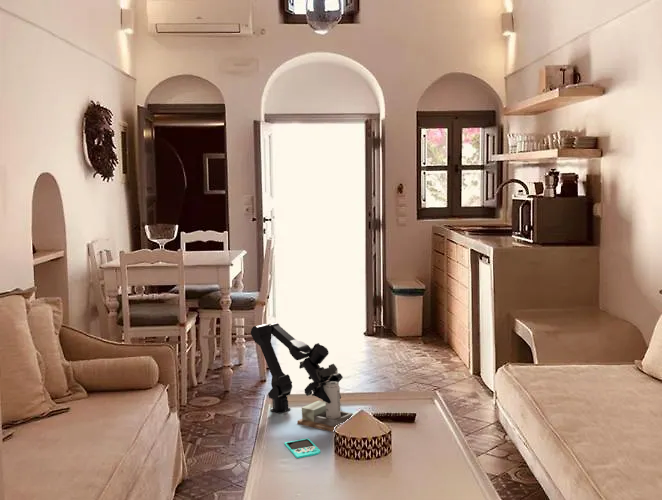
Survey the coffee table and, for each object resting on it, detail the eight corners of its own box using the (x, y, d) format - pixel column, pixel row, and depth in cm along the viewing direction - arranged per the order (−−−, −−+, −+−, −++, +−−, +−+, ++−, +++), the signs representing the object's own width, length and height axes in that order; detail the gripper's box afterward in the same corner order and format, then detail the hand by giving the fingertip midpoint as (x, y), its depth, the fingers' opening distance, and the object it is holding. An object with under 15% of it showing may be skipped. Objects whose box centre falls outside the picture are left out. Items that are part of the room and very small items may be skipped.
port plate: (297, 423, 303) (296, 409, 303) (322, 412, 316) (321, 398, 315) (335, 432, 291) (334, 417, 290) (359, 420, 303) (358, 406, 302)
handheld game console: (296, 459, 266) (296, 456, 266) (283, 445, 281) (283, 441, 281) (322, 455, 270) (322, 451, 269) (308, 440, 285) (308, 437, 284)
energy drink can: (326, 416, 304) (325, 380, 303) (341, 416, 304) (339, 380, 302) (325, 421, 299) (324, 385, 297) (340, 421, 298) (339, 385, 296)
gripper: (308, 364, 294) (330, 395, 288) (338, 354, 308) (360, 384, 302) (295, 380, 300) (316, 411, 294) (325, 369, 314) (346, 399, 308)
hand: (335, 400), depth 300 cm, fingers open, 6 cm apart
